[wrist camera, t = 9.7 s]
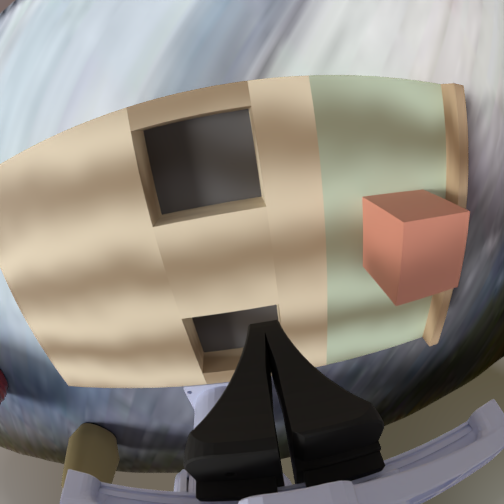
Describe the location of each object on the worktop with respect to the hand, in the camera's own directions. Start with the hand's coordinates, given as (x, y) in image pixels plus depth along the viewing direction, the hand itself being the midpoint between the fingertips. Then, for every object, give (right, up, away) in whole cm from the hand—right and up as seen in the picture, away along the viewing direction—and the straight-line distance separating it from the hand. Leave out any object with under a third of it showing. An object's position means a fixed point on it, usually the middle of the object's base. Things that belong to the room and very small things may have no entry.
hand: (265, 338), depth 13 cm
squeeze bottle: (-24, -23, +19) cm, 38 cm away
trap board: (-4, +4, +8) cm, 10 cm away
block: (+9, +6, +5) cm, 12 cm away
